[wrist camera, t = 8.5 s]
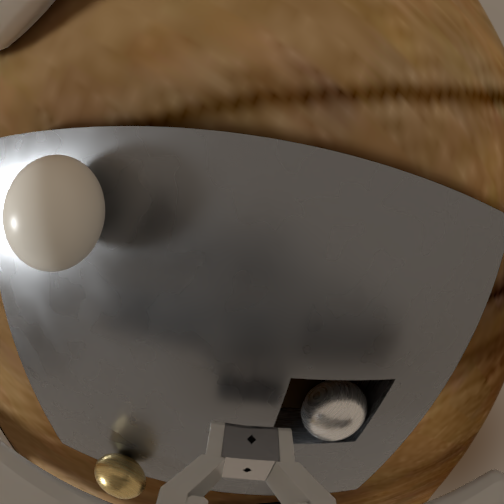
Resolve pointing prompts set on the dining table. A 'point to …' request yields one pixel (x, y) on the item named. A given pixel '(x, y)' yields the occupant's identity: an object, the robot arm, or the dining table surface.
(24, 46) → the dining table surface
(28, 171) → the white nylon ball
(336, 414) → the steel ball
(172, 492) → the robot arm
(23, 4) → the teapot
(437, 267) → the metal plate
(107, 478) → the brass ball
